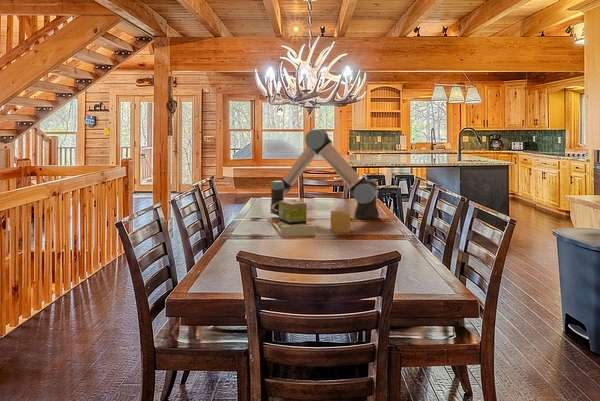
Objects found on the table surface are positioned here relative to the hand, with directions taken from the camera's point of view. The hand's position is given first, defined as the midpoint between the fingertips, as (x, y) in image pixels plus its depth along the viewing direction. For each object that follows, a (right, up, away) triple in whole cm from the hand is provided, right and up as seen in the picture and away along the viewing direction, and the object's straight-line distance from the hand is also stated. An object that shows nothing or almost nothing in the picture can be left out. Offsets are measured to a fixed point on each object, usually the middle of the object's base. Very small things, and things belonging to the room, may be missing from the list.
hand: (285, 214), depth 281 cm
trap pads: (-1, -4, +18) cm, 18 cm away
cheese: (+29, -8, -12) cm, 32 cm away
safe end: (+6, -9, -19) cm, 22 cm away
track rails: (+1, -6, +6) cm, 9 cm away
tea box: (+4, -8, -6) cm, 10 cm away
